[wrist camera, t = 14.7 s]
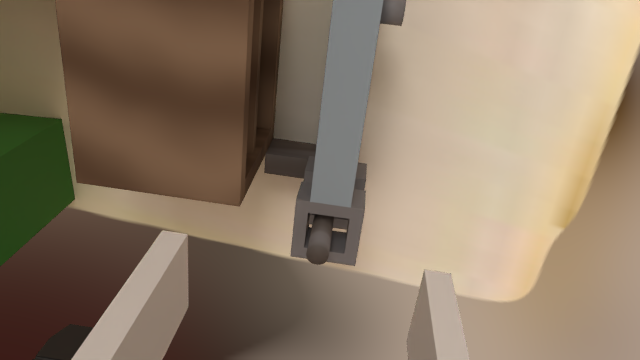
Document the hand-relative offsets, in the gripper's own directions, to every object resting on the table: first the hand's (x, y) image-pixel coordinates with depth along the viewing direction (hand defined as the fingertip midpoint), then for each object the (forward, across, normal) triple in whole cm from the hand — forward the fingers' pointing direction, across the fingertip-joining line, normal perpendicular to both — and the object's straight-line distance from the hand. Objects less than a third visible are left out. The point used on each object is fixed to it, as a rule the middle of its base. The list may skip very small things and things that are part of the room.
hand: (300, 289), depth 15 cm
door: (+25, +1, -1) cm, 25 cm away
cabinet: (+25, -7, 0) cm, 26 cm away
